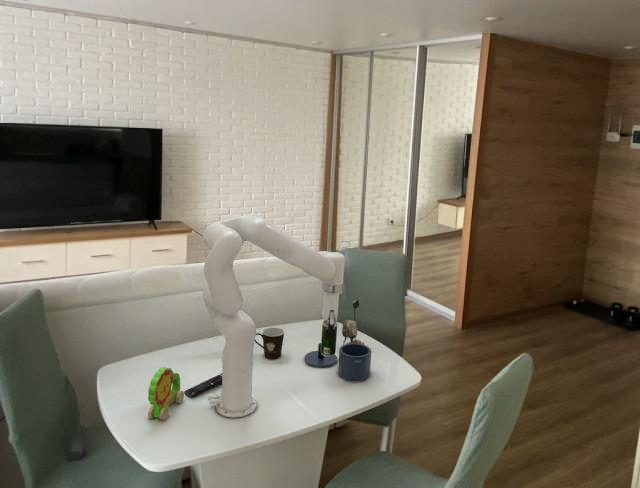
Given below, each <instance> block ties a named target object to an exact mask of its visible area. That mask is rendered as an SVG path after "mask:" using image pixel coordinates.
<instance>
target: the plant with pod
mask: <svg viewBox="0 0 640 488" xmlns="http://www.w3.org/2000/svg"><path fill="white" fill-rule="evenodd" d="M351 303H352V308H353V314H354V315H353V319H346V320H343V321H342V328H341V329H342V330H341V335H342V337H344V340H343V342H342V346H343V345H345V344H349V343H350V342H356V343H358V344H363V345H365V343H364V341H361V340H360V339H357V337H358V325H357V322H356V309H357V308H360V302H359V299H358V298H356V299H355V300H353V301H352V302H351ZM347 338H348V339H349V342H346V341H347V340H348V339H347Z"/></svg>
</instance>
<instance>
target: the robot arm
mask: <svg viewBox="0 0 640 488" xmlns="http://www.w3.org/2000/svg"><path fill="white" fill-rule="evenodd" d="M202 240H203V243H204V245H205V246H206V247H207V248H208V249H210V250H209V252H208V254H207V256H206V259H205V261H204V266H203V274H204V278H205V281H206V282H205V284H204V286H203V288H202V299H203V303H204V305H205V308H206V310H207V312H208V315H209V319H210V320H211V323H212V325H213V327H214V328H215V330H216V331H217V332H218V333H220V334H221V335H222V337H224V339H225V342H224V343H225V344H224V346H223V350H222V358H221V360H222V362H221V363H222V365H221V366H222V367H221V392H218V393H208V394H207V401H209V403H210V404H211V405H212V404H216V412H217V413H218V414H219V415H221V416H223V417H226V418H232V419H233V418H234V419H235V418H243V417H246V416H248V415H250V414H252V413H253V412H254V411H255V410H256V409H257V400H256V398H254V397H253V367H254V366H253V365H254V362H253V360H254V346H255V340H256V336H257V335H256V333H257V326H256V323H255V321H254V320H253V319H252V318H251V316H250V315H248V314H247V313H245V312H244V311H243V310H241V309H242V306H243V302H244V299H243V294H242V291H241V289H240V286H239V283H238V281H237V279H236V274H235V271H234V267H233V266H234V262H235V259H236V257H237V256H238V255H239V253H240V252H241V249H242V246H243V241H247V242H249V243H251V244H252V245H254V246H256V247H258V248H259V249H262V250H263V251H265V252H266V253H268V254H271V255H272V256H274V257H275V258H277V259H278V260H281V261H282V262H284V263H287V264H289V265H292V266H294V267H296V268H298V269H300V270H302V271H303V272H304V273H305V274H308V275H310V276H311V277H314V278H315V279H317V280H319V281H321V292H322V293H323V298H322V309H321V314H322V321H327V328H326V333H325V339H326V340H334V336H335V321H337V322H338V315H339V304H340V294H342V293H343V289H344V275H345V262H346V257H345V255H344V254H343V253H341V252H335V251H329V252H327V253H326V252H325V253H322V252H321V253H320V252H319V251H317V250H316V249H314V248H312V247H310V246H309V245H307V244H305V243H304V242H302V241H301V240H300V239H298V238H296V237H294V236H293V235H291V234H289V233H288V232H286V231H284V230H283V229H281V228H280V227H278V226H276V225H275V224H273V223H272V222H270V221H269V220H267V219H264V218H262V217H260V216H257V215H254V214H245V215H240V216H236V217H232V218H228V219H223V220H221V221H220V220H219V221H217V222H213V223H211V224H209V225H208V226H207V227H206V228H205V229H204V231H203V234H202ZM328 319H330V320H328ZM329 322H330V324H329Z"/></svg>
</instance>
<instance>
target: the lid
mask: <svg viewBox="0 0 640 488" xmlns="http://www.w3.org/2000/svg"><path fill="white" fill-rule="evenodd" d="M303 359H304V361H305V363H307V364H308V365H309V366H314V367H319V368H320V367H322V368H325V367H330V366H333V365H334V364H336V363H337V361H338V357H337V355H336V353H335V354H334V355H333V356H331V357H327V356H323V355H322V354H321V342H320V343H318V345H317V350H313V351H312V350H311V351H309V352H307V353H306V354H305V355H304V357H303Z"/></svg>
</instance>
